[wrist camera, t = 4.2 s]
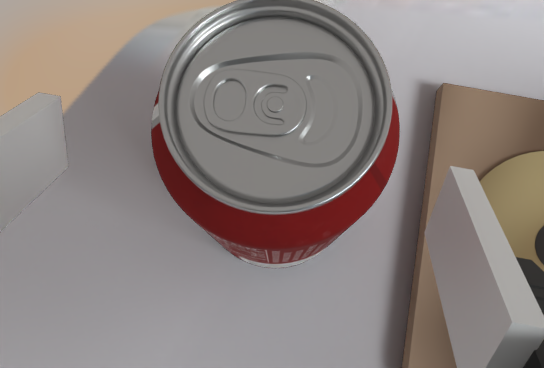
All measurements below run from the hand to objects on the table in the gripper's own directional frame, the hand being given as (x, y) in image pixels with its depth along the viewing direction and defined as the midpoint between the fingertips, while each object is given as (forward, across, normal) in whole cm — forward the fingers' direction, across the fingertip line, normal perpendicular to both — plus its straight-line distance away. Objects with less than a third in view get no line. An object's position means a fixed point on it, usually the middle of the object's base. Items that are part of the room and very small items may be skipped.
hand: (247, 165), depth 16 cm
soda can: (+5, +1, -5) cm, 7 cm away
